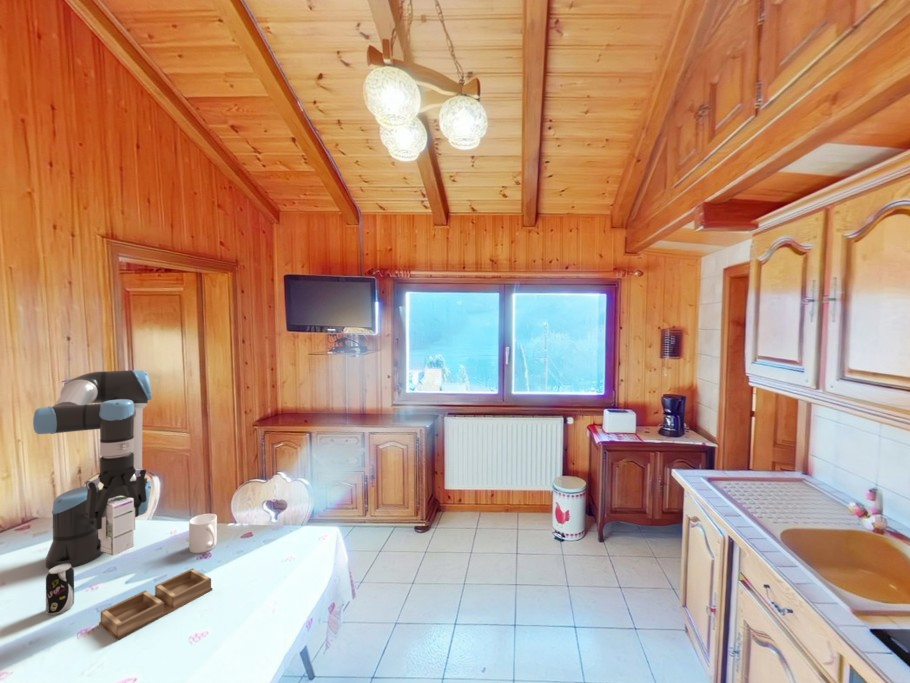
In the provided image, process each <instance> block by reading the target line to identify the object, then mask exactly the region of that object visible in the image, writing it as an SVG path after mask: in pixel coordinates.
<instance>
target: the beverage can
mask: <svg viewBox="0 0 910 683" xmlns="http://www.w3.org/2000/svg"><path fill="white" fill-rule="evenodd" d="M74 604H75V570H74V567H71V564H62V565H58V566H55V567H53V568H52V569H49V570H48V574H47V575H46V576H45V613H46V614H48V615H58V614H59V615H60V614H62V613H64V612H66V611H68V610H69V609H70V608H71V607H73V606H74Z"/></svg>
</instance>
